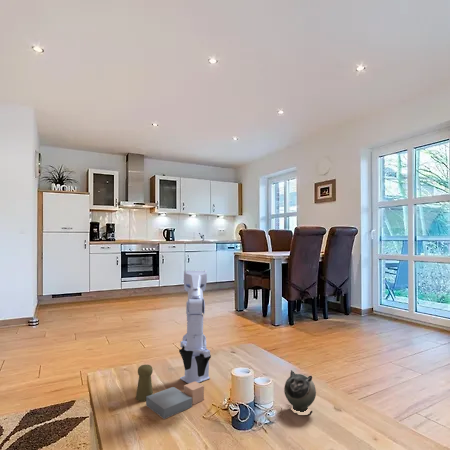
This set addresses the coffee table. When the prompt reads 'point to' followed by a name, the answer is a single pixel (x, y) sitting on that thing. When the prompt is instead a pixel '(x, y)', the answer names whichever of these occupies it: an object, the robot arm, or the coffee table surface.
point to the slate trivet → (168, 402)
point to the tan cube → (194, 391)
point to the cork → (144, 382)
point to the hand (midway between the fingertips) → (194, 372)
